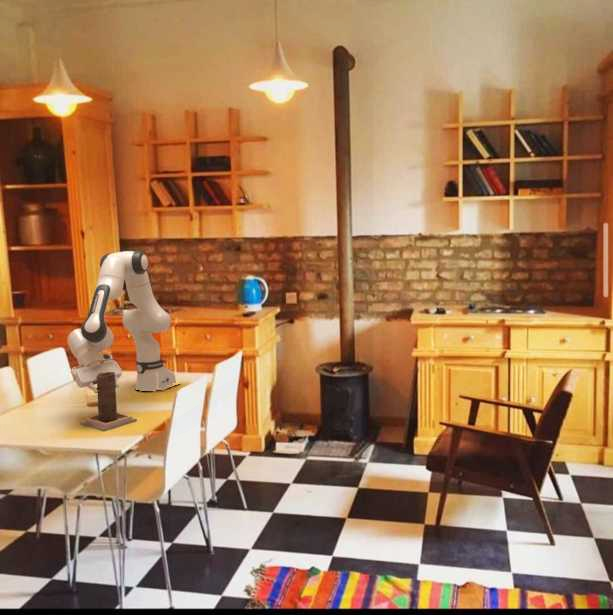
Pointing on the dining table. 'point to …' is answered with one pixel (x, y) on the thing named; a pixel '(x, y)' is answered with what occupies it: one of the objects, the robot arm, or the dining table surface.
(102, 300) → the robot arm
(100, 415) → the candle
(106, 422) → the plate
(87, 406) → the dining table surface
